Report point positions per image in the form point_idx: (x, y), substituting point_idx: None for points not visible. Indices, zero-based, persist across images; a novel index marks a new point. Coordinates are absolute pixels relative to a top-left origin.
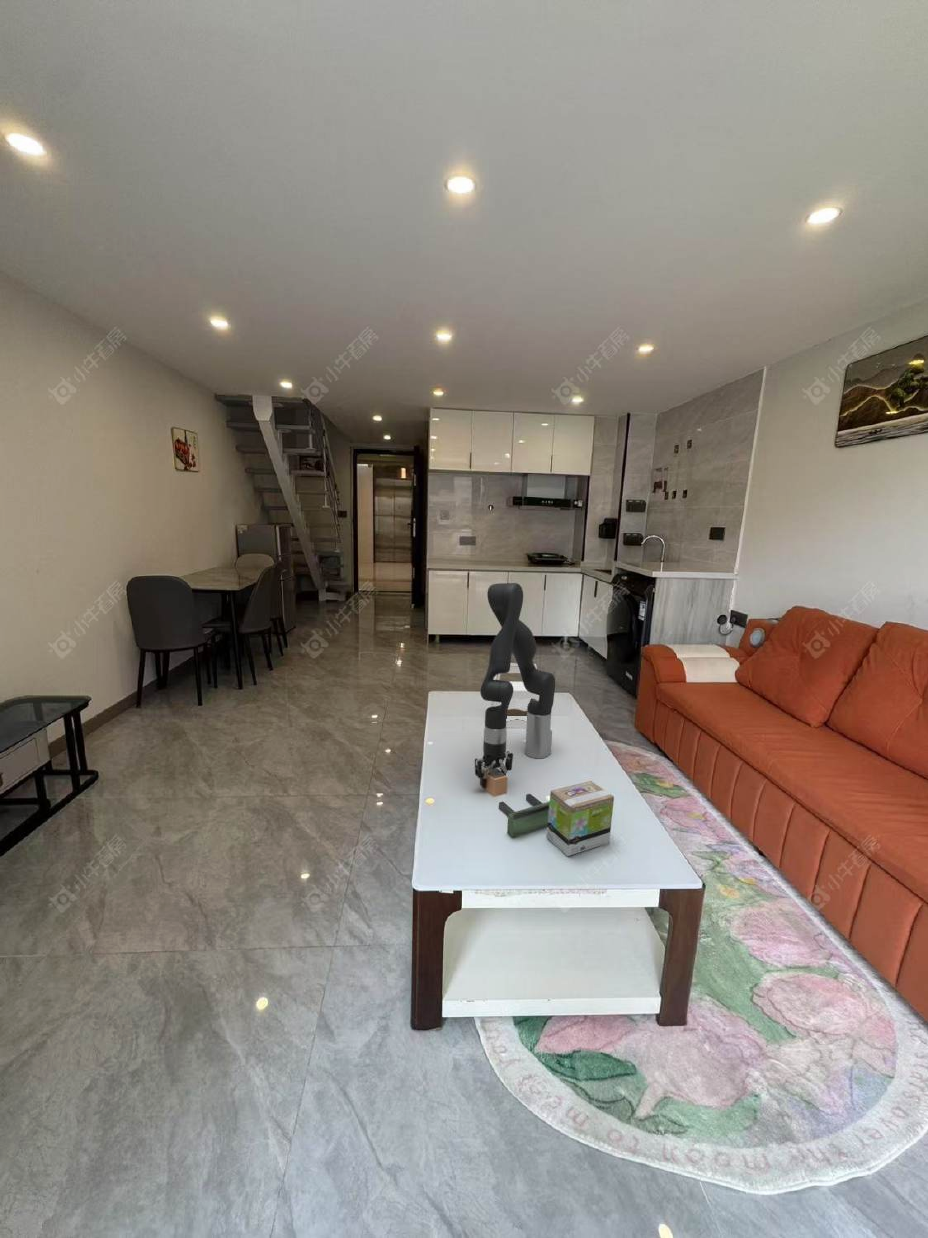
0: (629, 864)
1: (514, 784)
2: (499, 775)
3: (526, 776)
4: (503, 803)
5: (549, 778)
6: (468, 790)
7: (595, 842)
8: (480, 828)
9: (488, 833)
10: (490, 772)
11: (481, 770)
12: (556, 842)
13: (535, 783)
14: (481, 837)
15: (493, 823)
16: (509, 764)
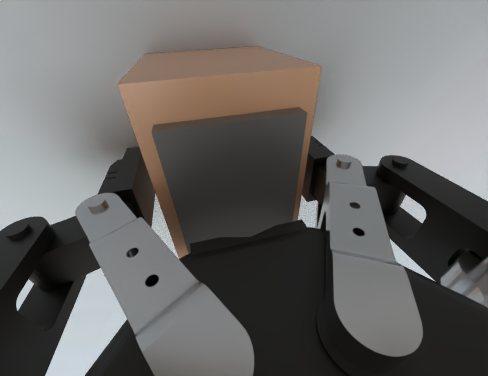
0: None
1: (340, 136)
2: None
3: (451, 80)
4: None
5: (485, 137)
6: (25, 108)
7: None
8: (70, 337)
9: (94, 347)
10: (197, 237)
11: (53, 346)
12: None
13: (413, 156)
14: (68, 357)
15: (123, 321)
16: (400, 246)
